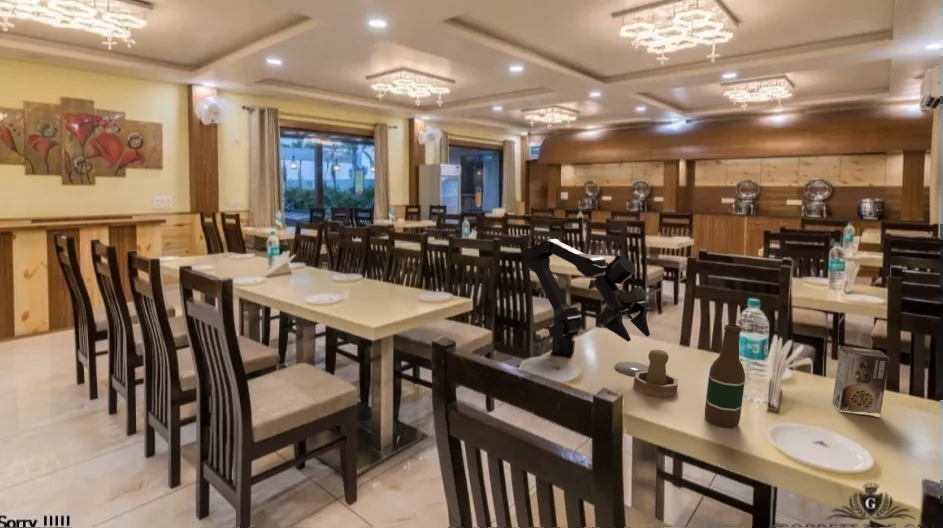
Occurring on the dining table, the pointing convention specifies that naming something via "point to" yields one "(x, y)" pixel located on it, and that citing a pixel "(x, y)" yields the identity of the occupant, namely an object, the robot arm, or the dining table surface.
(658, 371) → the cork
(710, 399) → the beer bottle
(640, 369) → the slate coaster
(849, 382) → the coffee box
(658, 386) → the guard ring
